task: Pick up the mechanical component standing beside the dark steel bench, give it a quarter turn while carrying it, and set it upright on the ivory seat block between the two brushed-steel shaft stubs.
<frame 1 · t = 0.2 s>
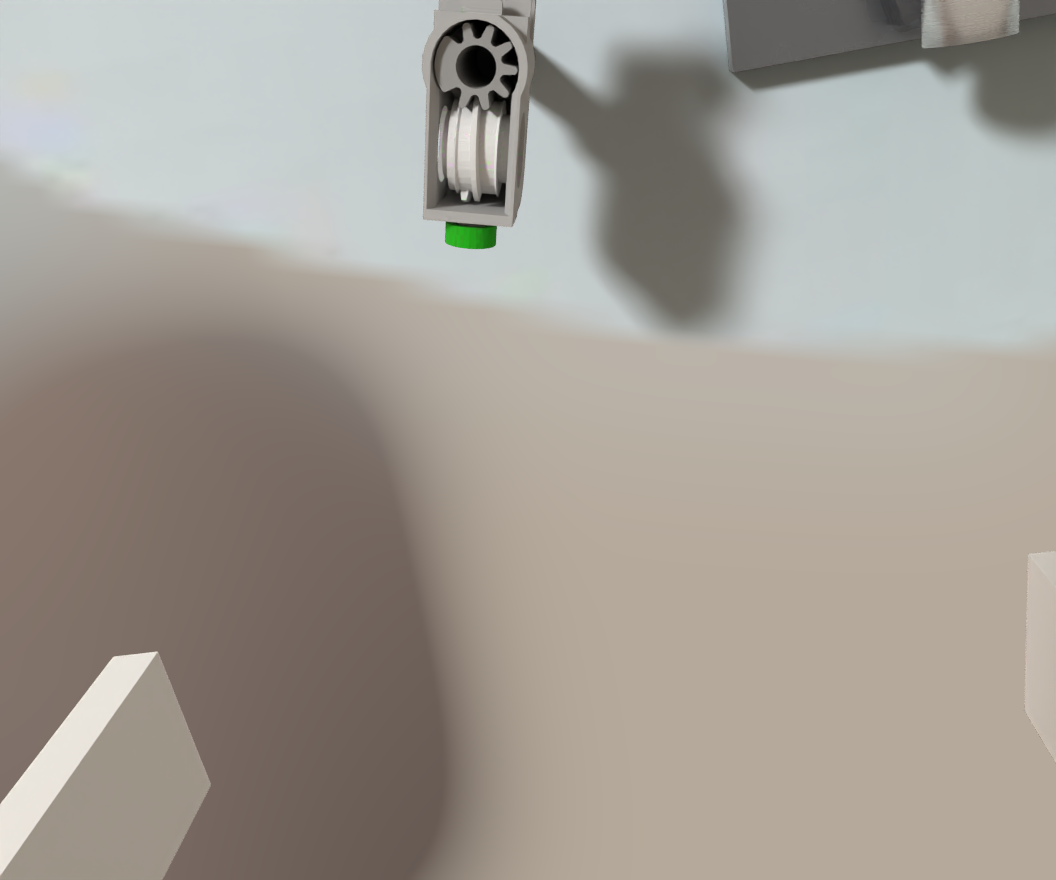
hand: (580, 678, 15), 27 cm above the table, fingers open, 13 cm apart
mechanical component: (508, 53, 36), on the table
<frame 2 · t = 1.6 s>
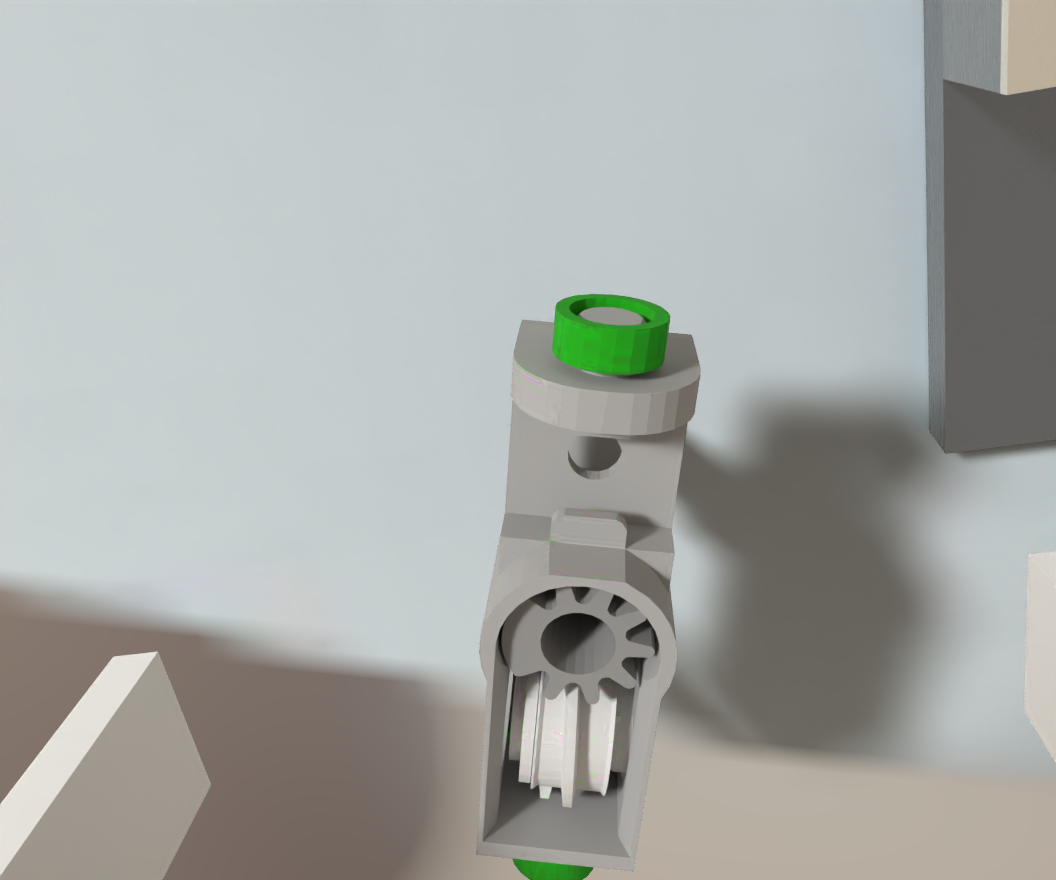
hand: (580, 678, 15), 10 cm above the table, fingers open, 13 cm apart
mechanical component: (588, 399, 24), on the table
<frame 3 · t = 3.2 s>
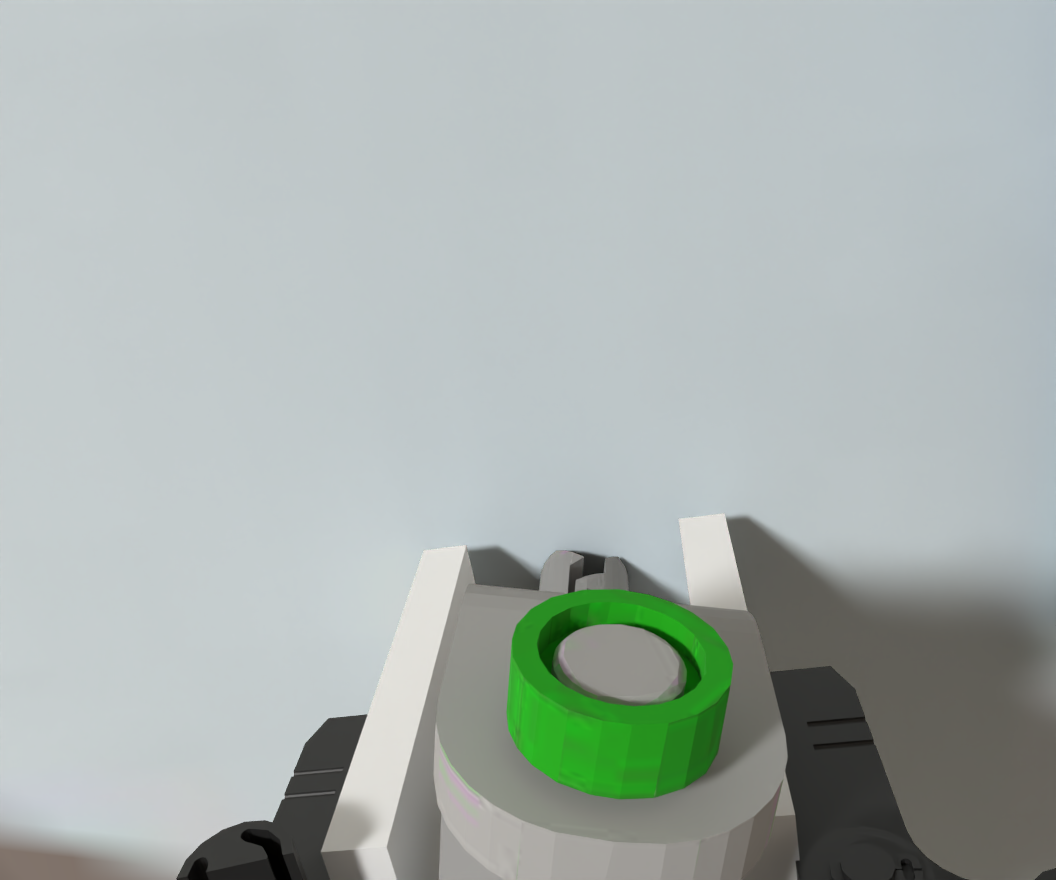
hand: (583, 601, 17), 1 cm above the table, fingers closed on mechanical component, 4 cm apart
mechanical component: (584, 576, 17), on the table, touching gripper
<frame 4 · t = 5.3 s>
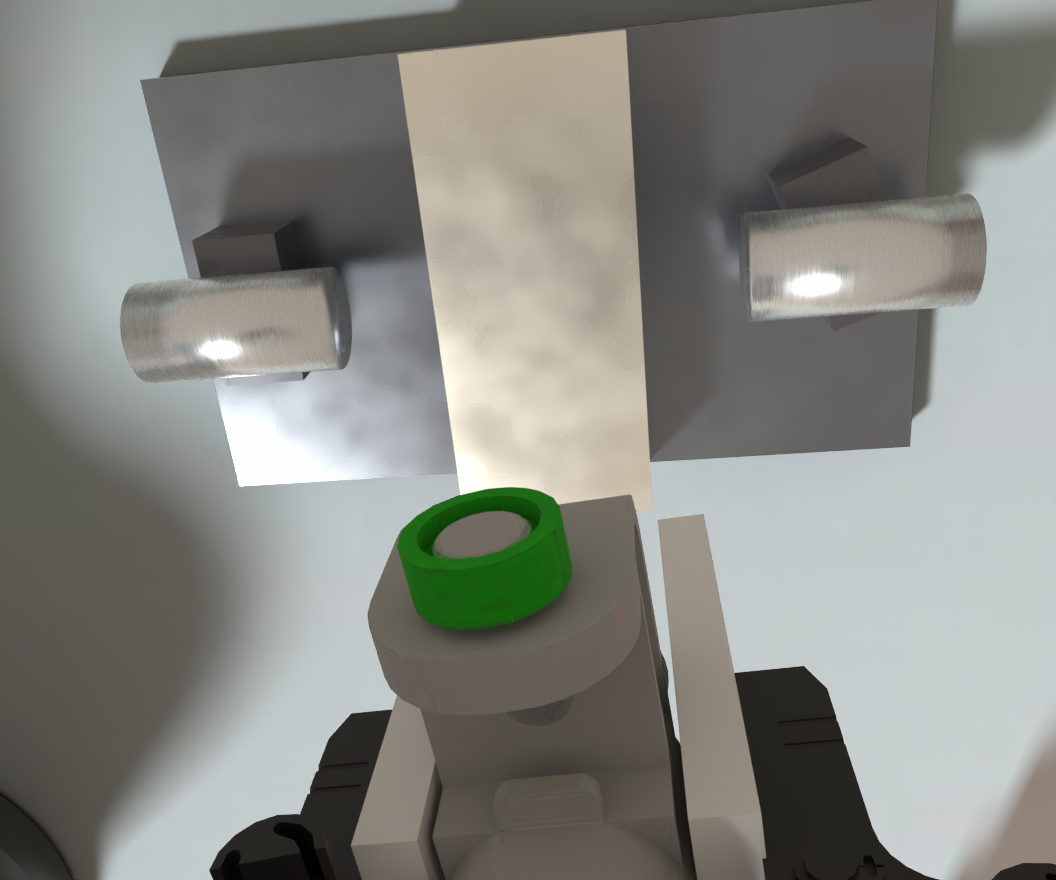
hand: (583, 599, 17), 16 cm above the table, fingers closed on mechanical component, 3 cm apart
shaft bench: (545, 262, 30), on the table
mechanical component: (589, 529, 19), point 13 cm above the table, touching gripper
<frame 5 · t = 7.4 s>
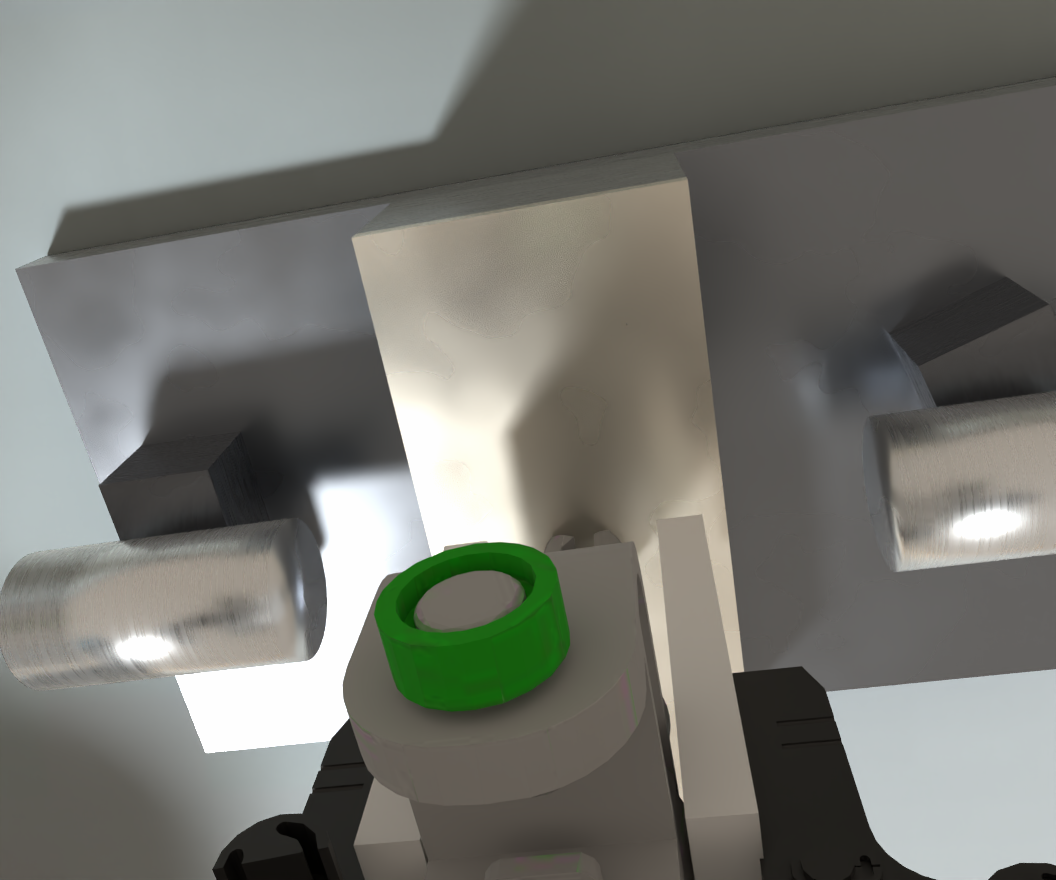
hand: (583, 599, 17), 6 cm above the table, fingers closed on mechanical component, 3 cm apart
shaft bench: (583, 453, 22), on the table
mechanical component: (585, 555, 18), point 4 cm above the table, touching gripper, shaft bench
when the fingers open (6 cm above the table, at t = 7.4 s): mechanical component stays where it is, resting on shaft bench.
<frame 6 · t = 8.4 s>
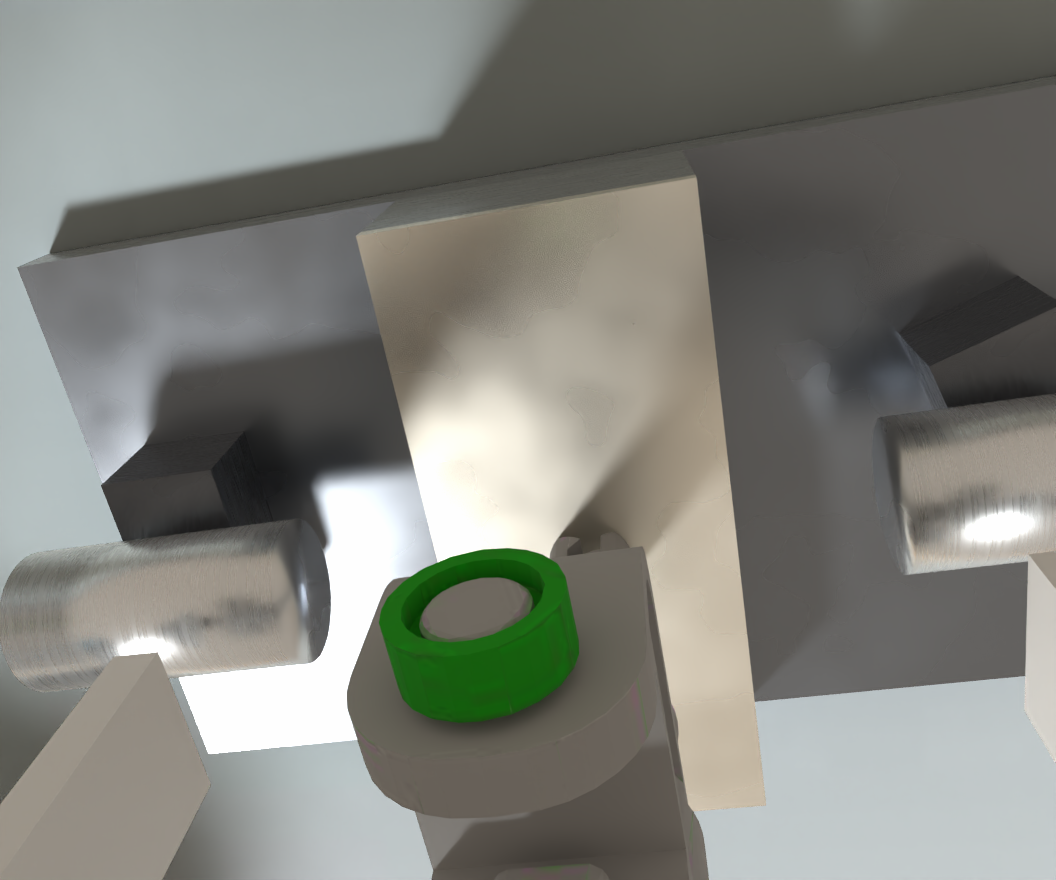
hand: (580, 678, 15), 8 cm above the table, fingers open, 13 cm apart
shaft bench: (589, 454, 22), on the table
mechanical component: (591, 557, 18), point 4 cm above the table, touching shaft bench
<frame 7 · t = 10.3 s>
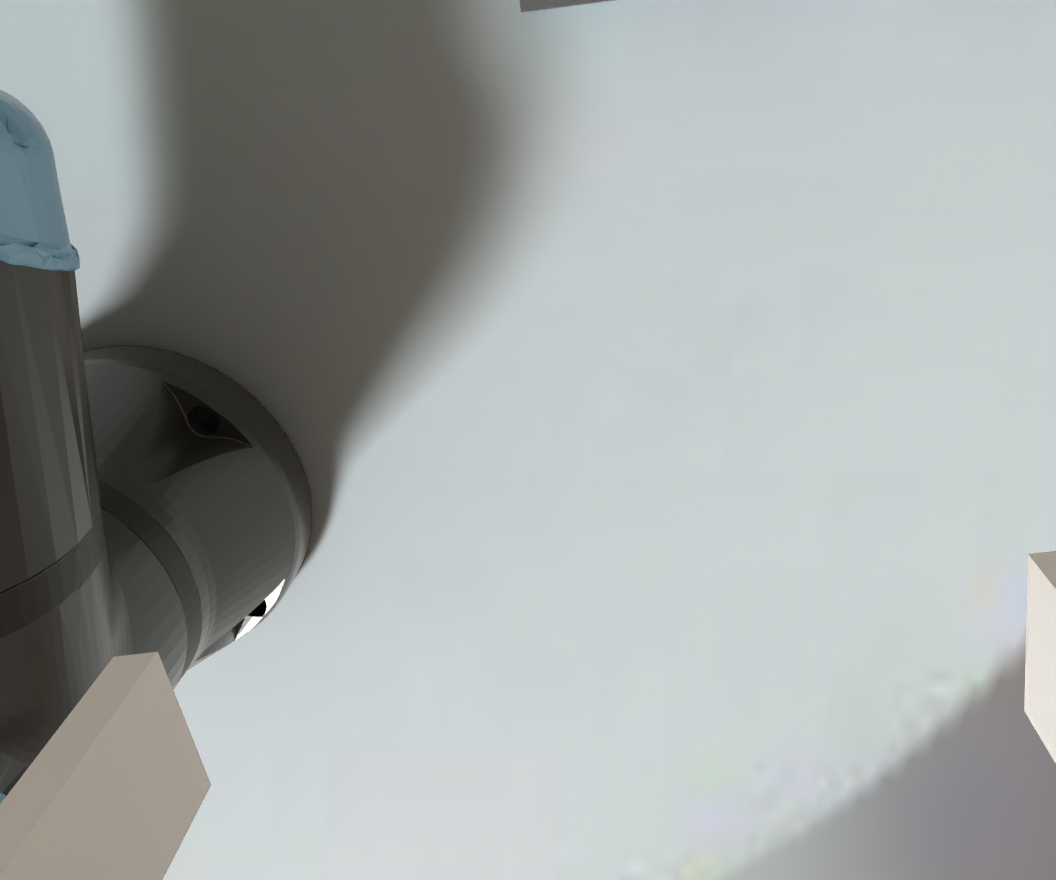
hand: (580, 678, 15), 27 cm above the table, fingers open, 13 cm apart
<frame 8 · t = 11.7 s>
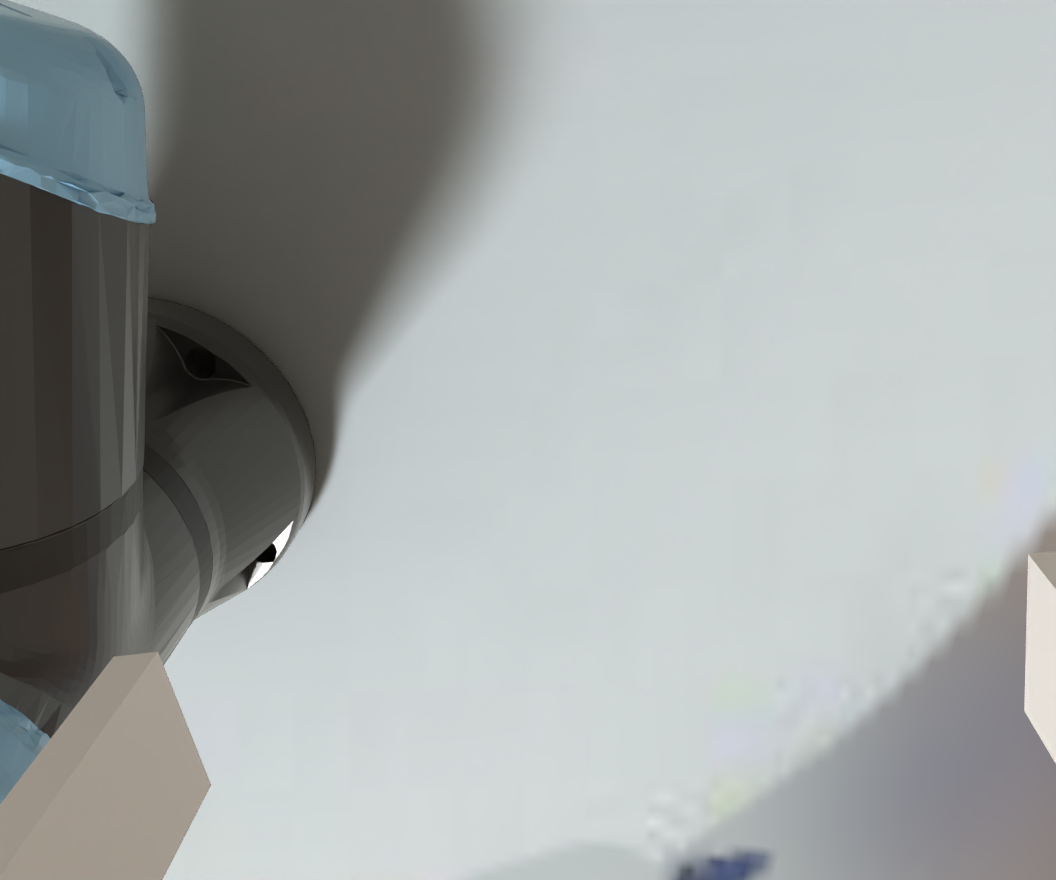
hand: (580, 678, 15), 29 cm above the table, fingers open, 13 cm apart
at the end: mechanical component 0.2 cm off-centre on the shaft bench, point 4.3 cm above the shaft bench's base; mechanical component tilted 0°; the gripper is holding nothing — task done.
